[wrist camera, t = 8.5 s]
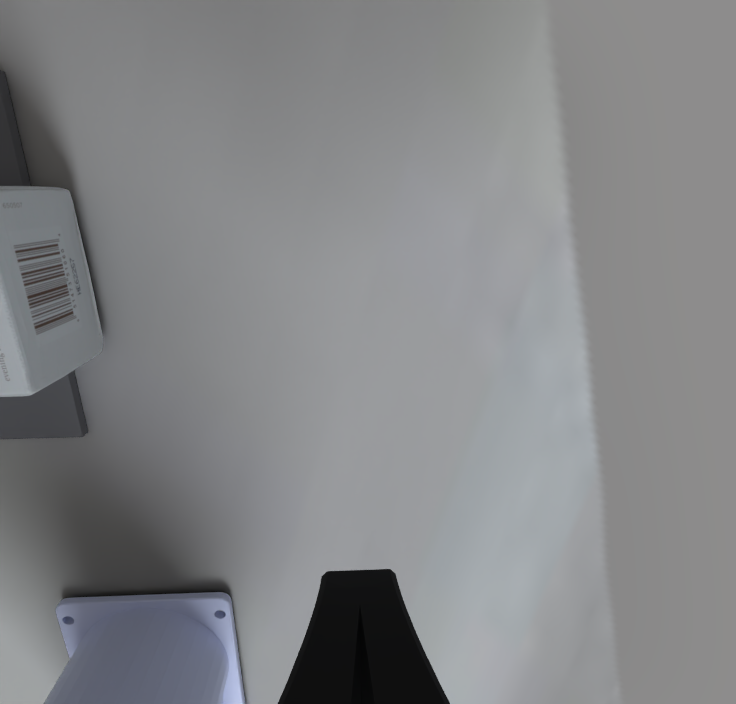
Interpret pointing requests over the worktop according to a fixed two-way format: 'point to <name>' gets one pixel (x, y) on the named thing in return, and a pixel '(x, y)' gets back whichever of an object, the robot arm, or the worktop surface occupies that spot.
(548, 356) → the worktop surface
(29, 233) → the skincare box
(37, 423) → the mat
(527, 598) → the worktop surface
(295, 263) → the worktop surface
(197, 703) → the robot arm
